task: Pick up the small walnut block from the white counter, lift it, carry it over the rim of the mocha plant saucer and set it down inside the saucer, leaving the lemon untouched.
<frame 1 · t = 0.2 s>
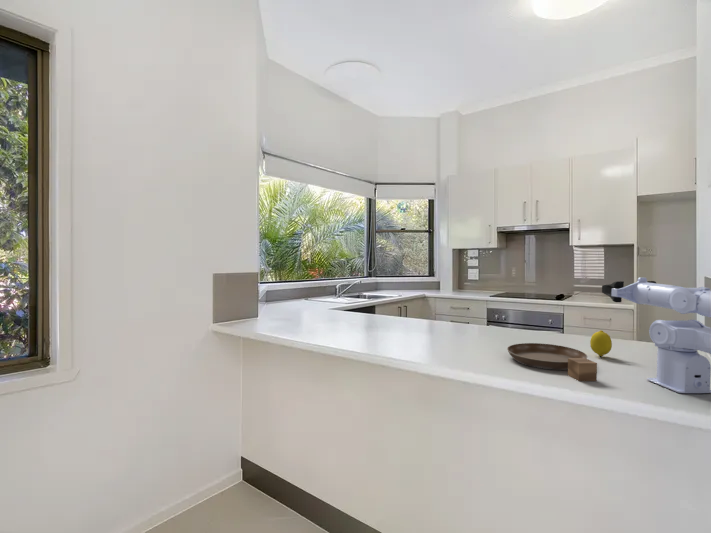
hand: (615, 288, 110), 21 cm above the countertop, tool horizontal, fingers open, 7 cm apart
plant saucer: (545, 363, 111), on the countertop
walnut block: (581, 378, 96), on the countertop
lemon: (600, 357, 117), on the countertop
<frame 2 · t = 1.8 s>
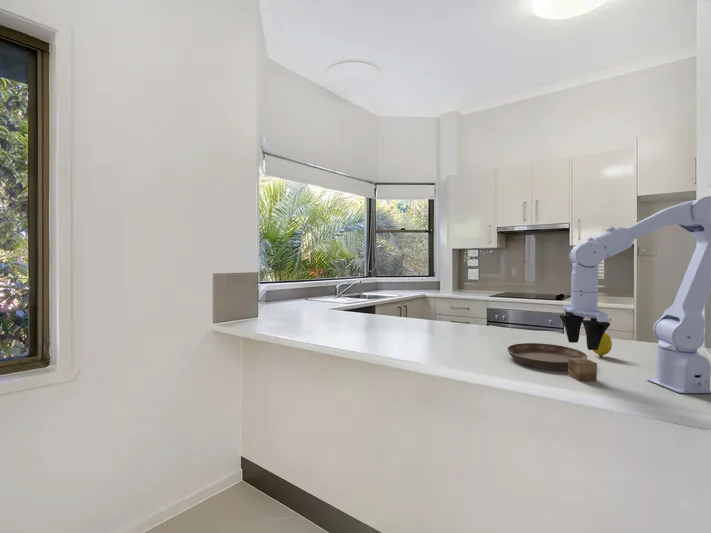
hand: (582, 345, 96), 8 cm above the countertop, tool pointing down, fingers open, 7 cm apart
nothing on the countertop moved.
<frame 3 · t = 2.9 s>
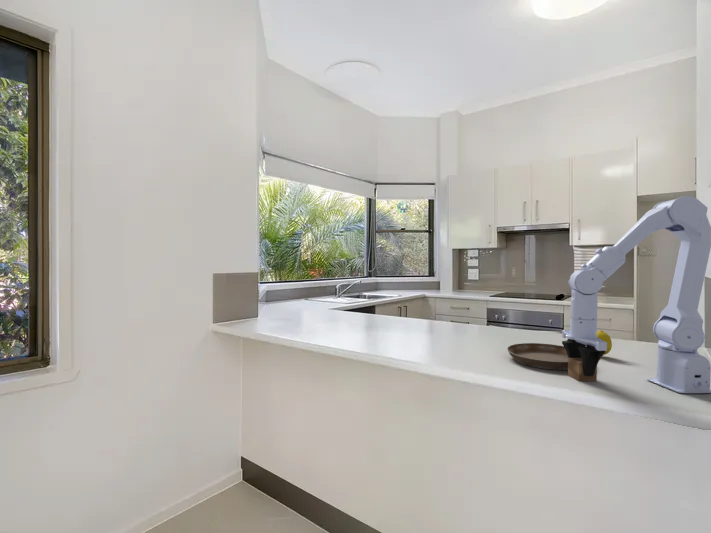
hand: (581, 372, 96), 1 cm above the countertop, tool pointing down, fingers closed on walnut block, 4 cm apart
walnut block: (581, 378, 96), on the countertop, touching gripper
everything else where it was.
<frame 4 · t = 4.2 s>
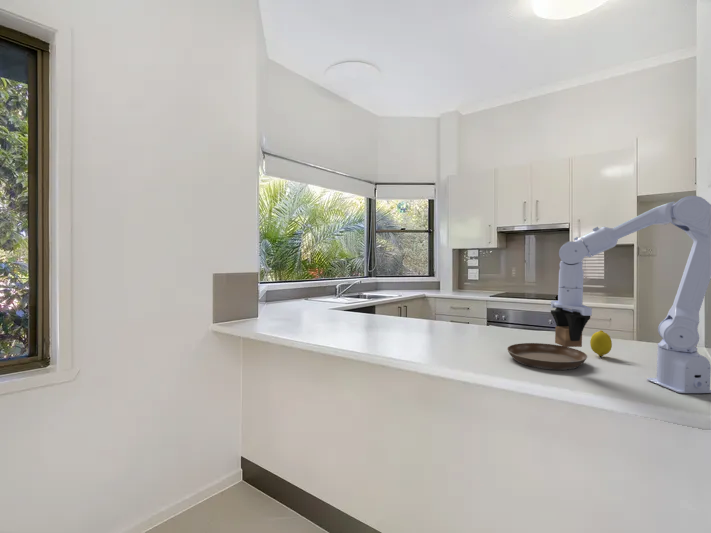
hand: (568, 338, 103), 8 cm above the countertop, tool pointing down, fingers closed on walnut block, 4 cm apart
walnut block: (568, 344, 103), point 7 cm above the countertop, touching gripper
everything else where it was.
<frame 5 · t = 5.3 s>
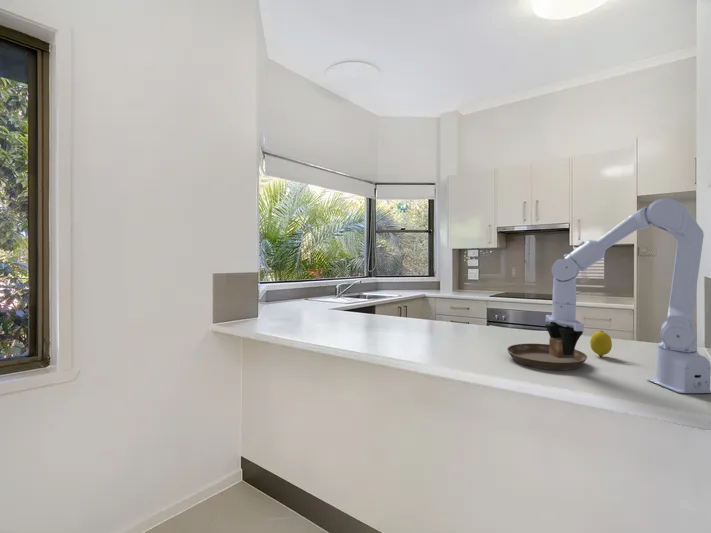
hand: (562, 352, 106), 4 cm above the countertop, tool pointing down, fingers closed on walnut block, 4 cm apart
plant saucer: (545, 363, 111), on the countertop, touching walnut block
walnut block: (561, 355, 106), point 3 cm above the countertop, touching gripper, plant saucer
everything else where it was.
when the fingers open (4 cm above the countertop, at t = 5.7 s): walnut block stays where it is, resting on plant saucer.
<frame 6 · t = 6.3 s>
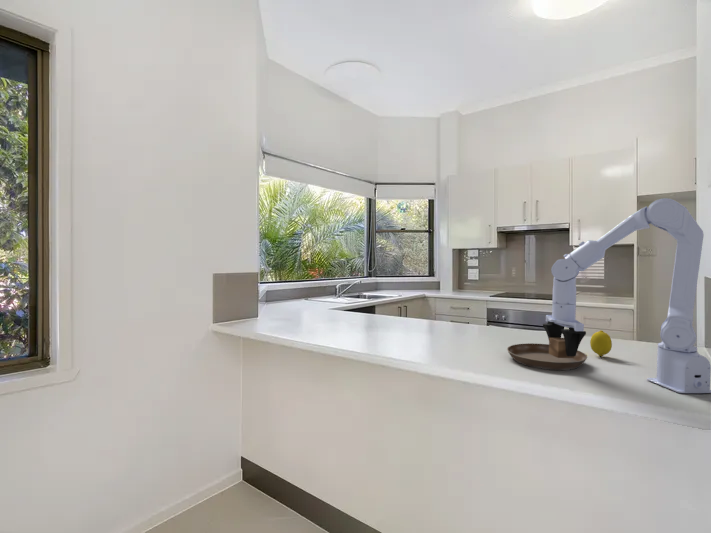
hand: (562, 352, 106), 4 cm above the countertop, tool pointing down, fingers open, 7 cm apart
walnut block: (561, 355, 106), point 3 cm above the countertop, touching plant saucer
everything else where it was.
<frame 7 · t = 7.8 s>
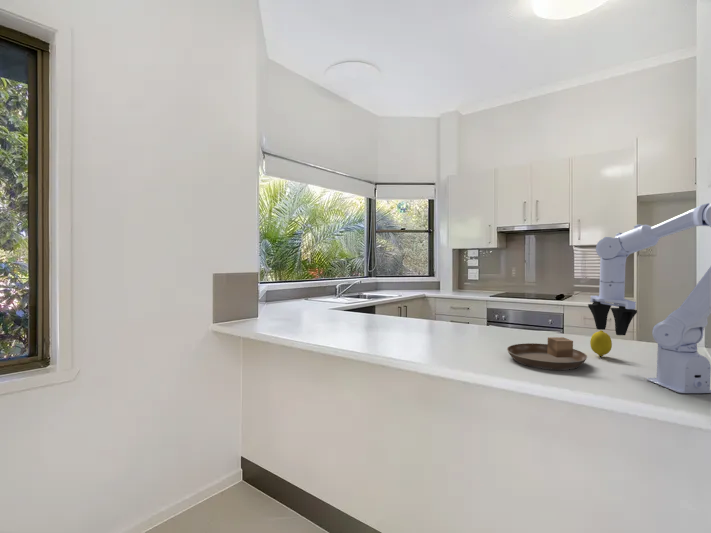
hand: (610, 332, 105), 10 cm above the countertop, tool pointing down, fingers open, 7 cm apart
nothing on the countertop moved.
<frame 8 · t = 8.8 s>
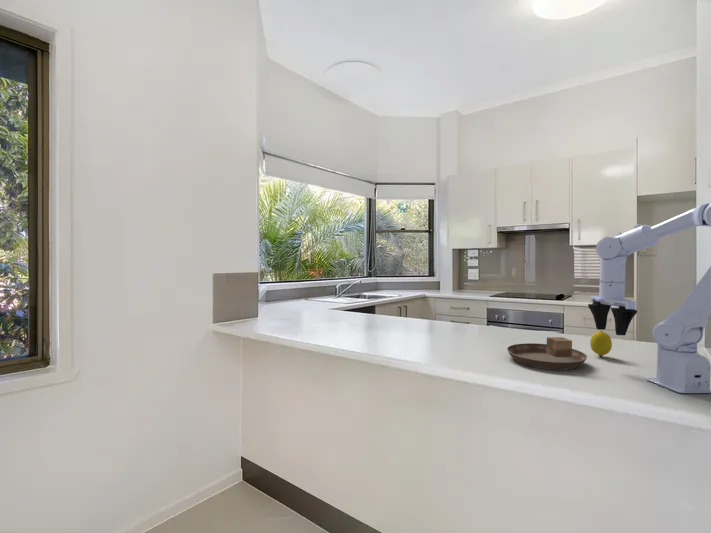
hand: (610, 332, 105), 10 cm above the countertop, tool pointing down, fingers open, 7 cm apart
nothing on the countertop moved.
at the end: walnut block 4.4 cm from the plant saucer (horizontally); walnut block point 2.9 cm above the countertop; the gripper is holding nothing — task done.
